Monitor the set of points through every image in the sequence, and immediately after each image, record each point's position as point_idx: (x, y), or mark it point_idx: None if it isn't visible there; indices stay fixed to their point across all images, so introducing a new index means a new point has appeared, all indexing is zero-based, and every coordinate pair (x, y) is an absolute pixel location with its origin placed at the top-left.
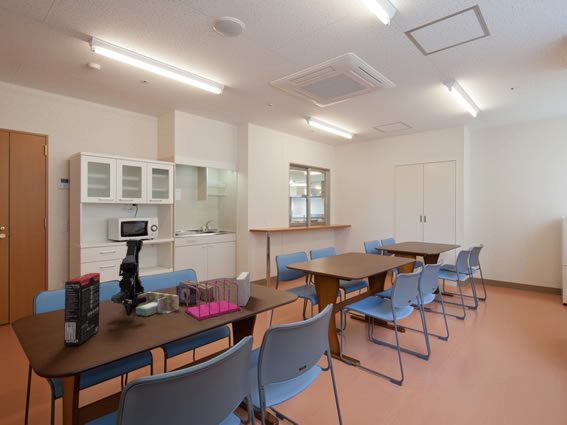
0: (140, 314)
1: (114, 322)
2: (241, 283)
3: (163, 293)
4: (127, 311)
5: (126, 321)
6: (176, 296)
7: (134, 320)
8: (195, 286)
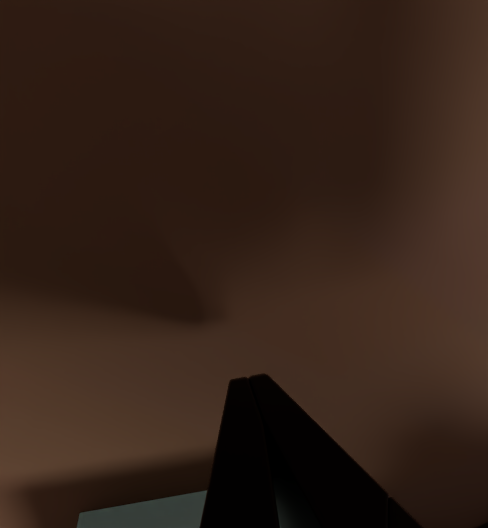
0: None
1: (340, 58)
2: None
3: None
4: (281, 460)
5: (133, 235)
6: None
7: (39, 344)
8: None
